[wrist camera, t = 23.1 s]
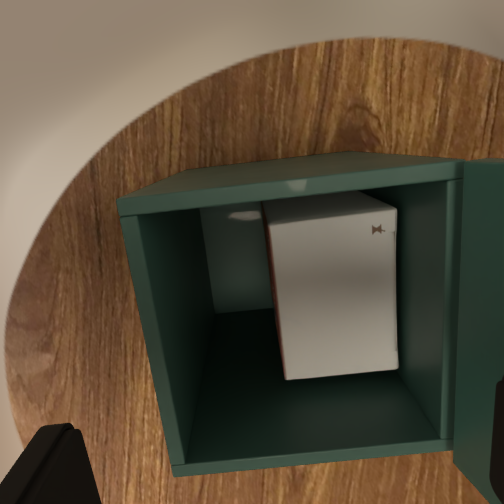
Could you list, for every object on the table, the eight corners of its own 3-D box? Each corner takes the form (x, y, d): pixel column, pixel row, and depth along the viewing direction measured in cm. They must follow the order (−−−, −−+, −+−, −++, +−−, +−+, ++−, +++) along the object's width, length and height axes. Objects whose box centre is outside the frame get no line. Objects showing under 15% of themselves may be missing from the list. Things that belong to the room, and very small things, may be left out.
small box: (258, 189, 26) (265, 219, 16) (340, 180, 26) (400, 204, 16) (270, 298, 28) (282, 385, 18) (346, 290, 28) (401, 372, 18)
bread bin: (209, 318, 29) (172, 478, 15) (186, 169, 26) (114, 199, 12) (355, 302, 29) (455, 450, 15) (349, 150, 26) (467, 159, 12)
